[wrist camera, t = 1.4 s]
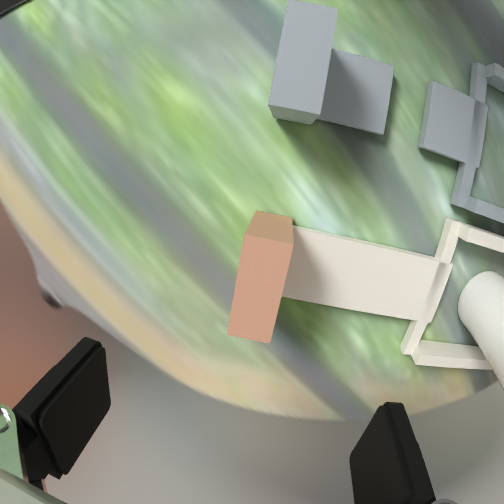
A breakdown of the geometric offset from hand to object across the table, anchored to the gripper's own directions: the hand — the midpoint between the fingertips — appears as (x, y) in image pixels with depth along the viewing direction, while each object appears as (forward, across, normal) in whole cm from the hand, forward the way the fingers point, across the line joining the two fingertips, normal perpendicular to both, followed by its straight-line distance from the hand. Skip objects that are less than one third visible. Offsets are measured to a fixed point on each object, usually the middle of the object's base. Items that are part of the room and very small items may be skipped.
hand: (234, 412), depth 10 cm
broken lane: (+14, -12, -13) cm, 23 cm away
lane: (+15, -12, -1) cm, 19 cm away
